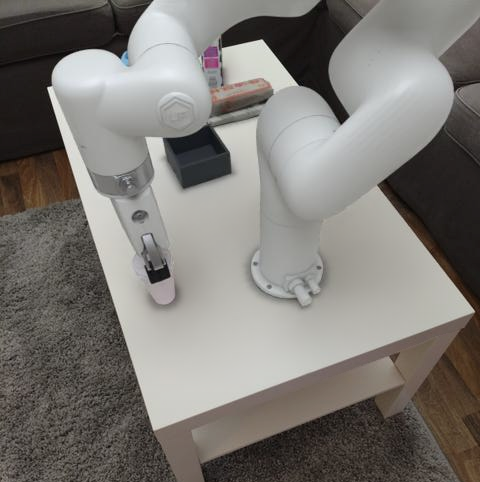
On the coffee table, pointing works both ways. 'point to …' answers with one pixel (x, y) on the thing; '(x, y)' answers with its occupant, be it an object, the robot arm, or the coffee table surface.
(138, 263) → the smoothie
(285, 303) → the coffee table surface
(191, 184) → the box
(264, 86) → the packaged product
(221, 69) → the candy bar box
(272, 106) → the robot arm
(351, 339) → the coffee table surface
